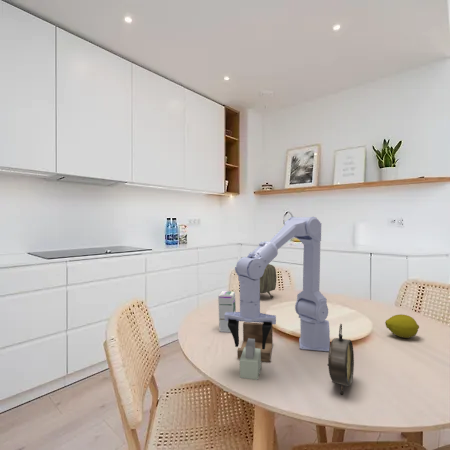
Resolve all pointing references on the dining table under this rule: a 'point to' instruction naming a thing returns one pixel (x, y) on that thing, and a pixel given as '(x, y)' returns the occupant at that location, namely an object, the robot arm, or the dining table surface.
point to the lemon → (402, 326)
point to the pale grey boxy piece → (250, 361)
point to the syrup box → (225, 308)
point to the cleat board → (256, 340)
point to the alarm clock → (341, 361)
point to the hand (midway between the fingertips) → (250, 346)
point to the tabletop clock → (268, 280)
